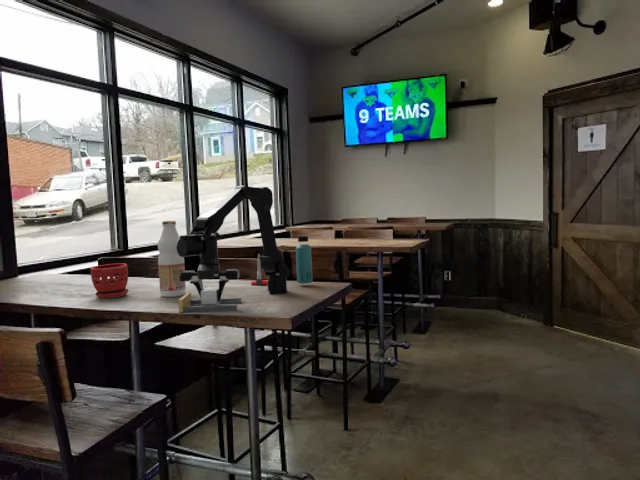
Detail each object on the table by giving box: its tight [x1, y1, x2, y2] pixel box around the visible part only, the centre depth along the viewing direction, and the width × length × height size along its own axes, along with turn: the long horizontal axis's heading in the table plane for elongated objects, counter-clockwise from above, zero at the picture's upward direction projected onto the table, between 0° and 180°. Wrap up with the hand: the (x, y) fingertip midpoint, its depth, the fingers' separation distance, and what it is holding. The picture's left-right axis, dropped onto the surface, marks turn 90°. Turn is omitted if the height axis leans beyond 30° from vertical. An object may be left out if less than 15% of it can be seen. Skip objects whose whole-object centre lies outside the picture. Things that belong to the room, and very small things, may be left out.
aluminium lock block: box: [200, 286, 222, 306], centre depth 166 cm, size 5×7×5 cm
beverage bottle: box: [295, 235, 314, 285], centre depth 200 cm, size 6×7×20 cm
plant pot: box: [89, 262, 129, 299], centre depth 191 cm, size 13×13×12 cm
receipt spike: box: [250, 253, 269, 286], centre depth 210 cm, size 8×13×9 cm
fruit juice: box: [157, 220, 187, 298], centre depth 189 cm, size 9×9×28 cm
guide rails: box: [178, 292, 242, 313], centre depth 166 cm, size 18×12×4 cm
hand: (211, 300), depth 166 cm, fingers closed on aluminium lock block, 5 cm apart
